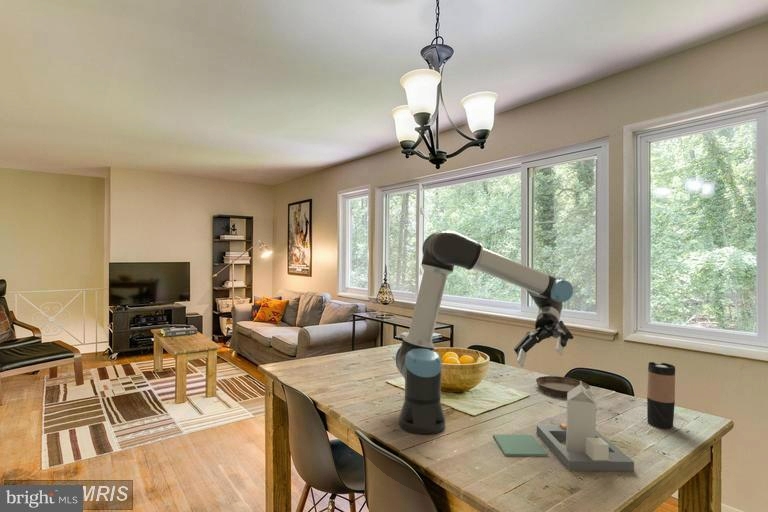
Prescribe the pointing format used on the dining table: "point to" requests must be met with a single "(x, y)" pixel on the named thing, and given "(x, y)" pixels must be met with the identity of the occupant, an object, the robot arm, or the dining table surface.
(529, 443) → the felt pad
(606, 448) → the grey open frame
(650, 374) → the travel mug
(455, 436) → the dining table surface
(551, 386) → the plant saucer
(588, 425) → the milk carton
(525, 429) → the dining table surface
